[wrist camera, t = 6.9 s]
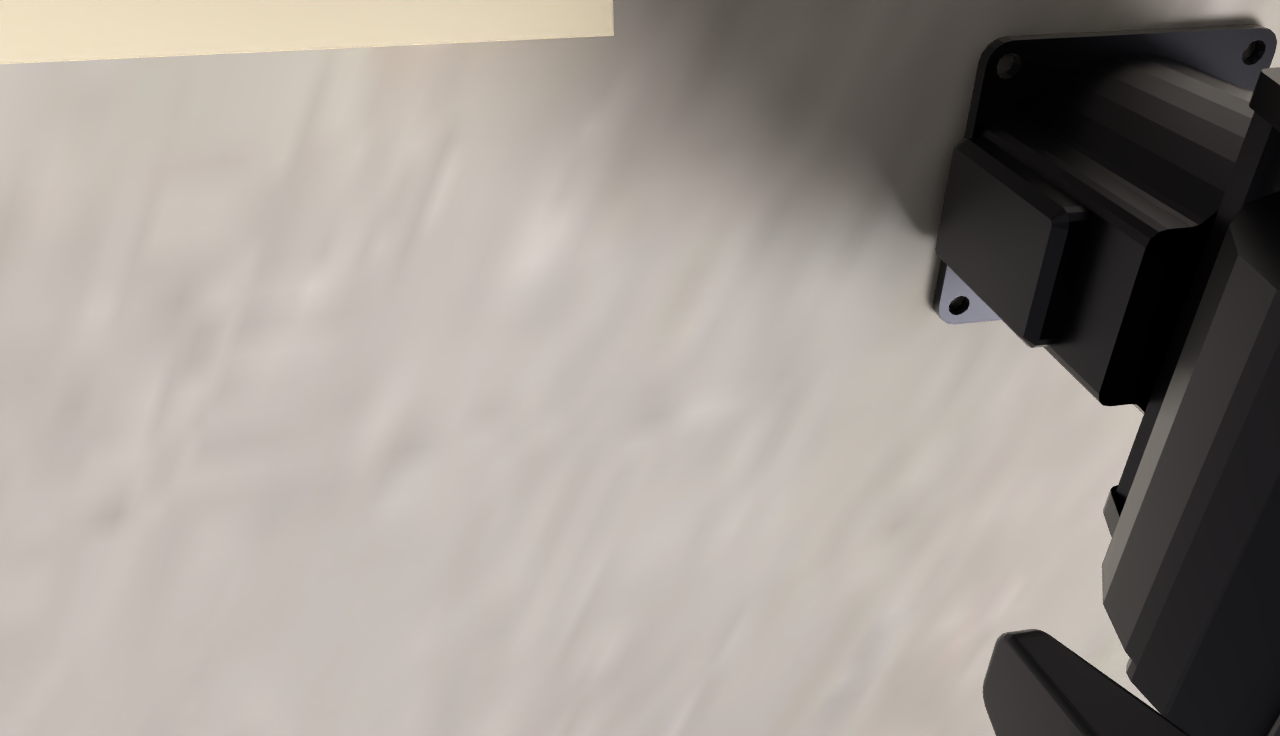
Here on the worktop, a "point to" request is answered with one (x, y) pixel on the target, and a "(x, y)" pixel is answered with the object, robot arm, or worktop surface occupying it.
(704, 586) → the worktop surface
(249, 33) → the lane
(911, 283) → the worktop surface
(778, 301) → the worktop surface
